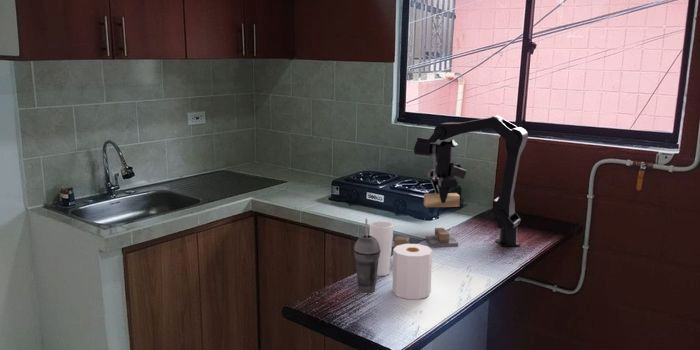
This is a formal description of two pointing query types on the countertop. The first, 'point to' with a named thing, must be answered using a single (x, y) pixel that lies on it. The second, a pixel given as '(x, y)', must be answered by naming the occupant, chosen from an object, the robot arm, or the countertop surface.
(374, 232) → the drinking glass
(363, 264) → the beverage cup
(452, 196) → the oak bar
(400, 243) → the wooden block
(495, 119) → the robot arm
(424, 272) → the toilet paper
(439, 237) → the balance stand
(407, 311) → the countertop surface
